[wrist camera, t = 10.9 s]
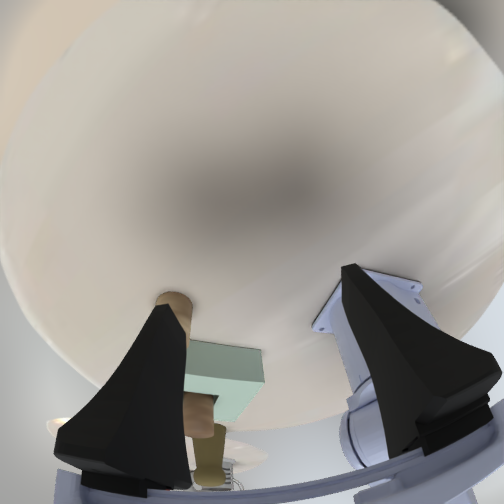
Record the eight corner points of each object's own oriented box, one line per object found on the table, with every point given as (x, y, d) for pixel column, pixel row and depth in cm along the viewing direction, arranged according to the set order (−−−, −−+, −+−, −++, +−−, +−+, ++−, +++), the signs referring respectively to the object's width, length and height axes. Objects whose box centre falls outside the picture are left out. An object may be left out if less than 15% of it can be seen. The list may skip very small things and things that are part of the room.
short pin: (195, 296, 24) (192, 333, 21) (189, 320, 26) (186, 356, 23) (158, 288, 23) (150, 324, 20) (154, 313, 25) (148, 348, 22)
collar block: (260, 349, 29) (264, 382, 26) (233, 395, 35) (234, 421, 32) (153, 333, 27) (148, 367, 23) (149, 383, 33) (145, 410, 29)
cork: (199, 434, 45) (200, 488, 36) (184, 424, 41) (183, 483, 33) (230, 431, 44) (234, 487, 35) (218, 421, 41) (221, 483, 32)
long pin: (215, 364, 30) (217, 430, 24) (210, 378, 32) (210, 439, 26) (187, 360, 30) (183, 427, 23) (183, 374, 31) (180, 436, 25)
